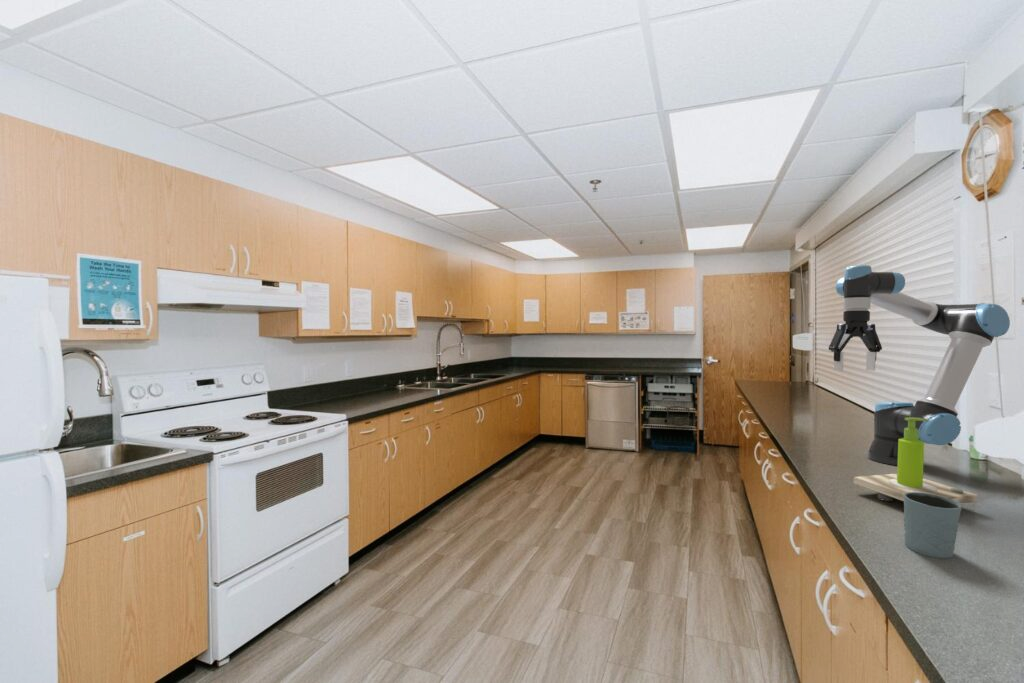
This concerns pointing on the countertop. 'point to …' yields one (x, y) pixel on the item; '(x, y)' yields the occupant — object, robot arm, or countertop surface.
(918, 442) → the soap dispenser
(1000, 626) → the countertop surface
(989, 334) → the robot arm
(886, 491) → the stand
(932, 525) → the blue-grey cup
